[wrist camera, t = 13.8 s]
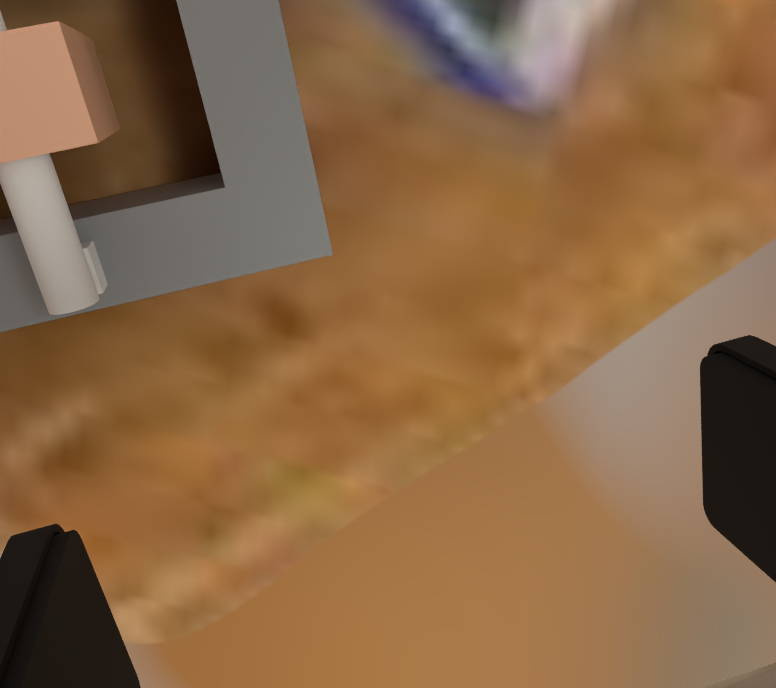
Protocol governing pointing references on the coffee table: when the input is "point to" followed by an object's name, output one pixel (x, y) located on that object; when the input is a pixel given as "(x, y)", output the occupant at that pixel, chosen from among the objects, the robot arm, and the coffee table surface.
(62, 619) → the robot arm
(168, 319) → the coffee table surface
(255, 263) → the grey rectangular frame
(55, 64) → the clip
